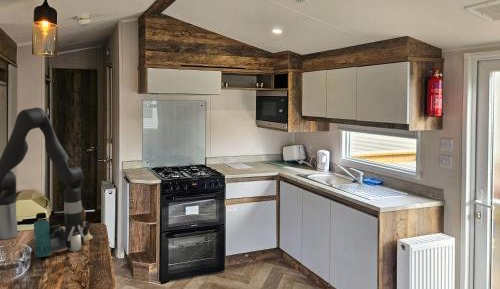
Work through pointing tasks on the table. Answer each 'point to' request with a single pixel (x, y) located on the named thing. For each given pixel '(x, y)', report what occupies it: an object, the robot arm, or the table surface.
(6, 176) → the robot arm
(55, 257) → the table surface
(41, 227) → the beverage bottle
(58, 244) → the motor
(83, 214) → the hand bell
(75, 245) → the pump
